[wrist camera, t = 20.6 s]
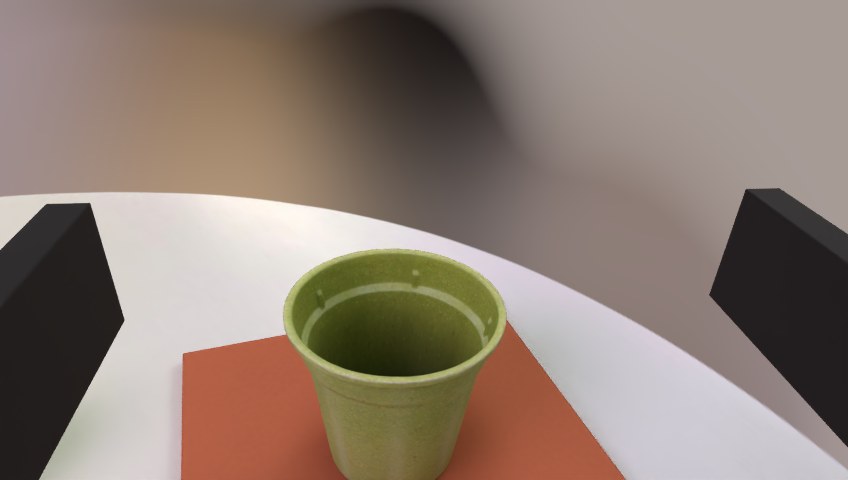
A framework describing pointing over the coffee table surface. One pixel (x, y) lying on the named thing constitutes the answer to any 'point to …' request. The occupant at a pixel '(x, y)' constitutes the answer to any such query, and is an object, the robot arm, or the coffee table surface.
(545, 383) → the terracotta mat
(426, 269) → the plant pot
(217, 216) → the coffee table surface
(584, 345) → the coffee table surface
